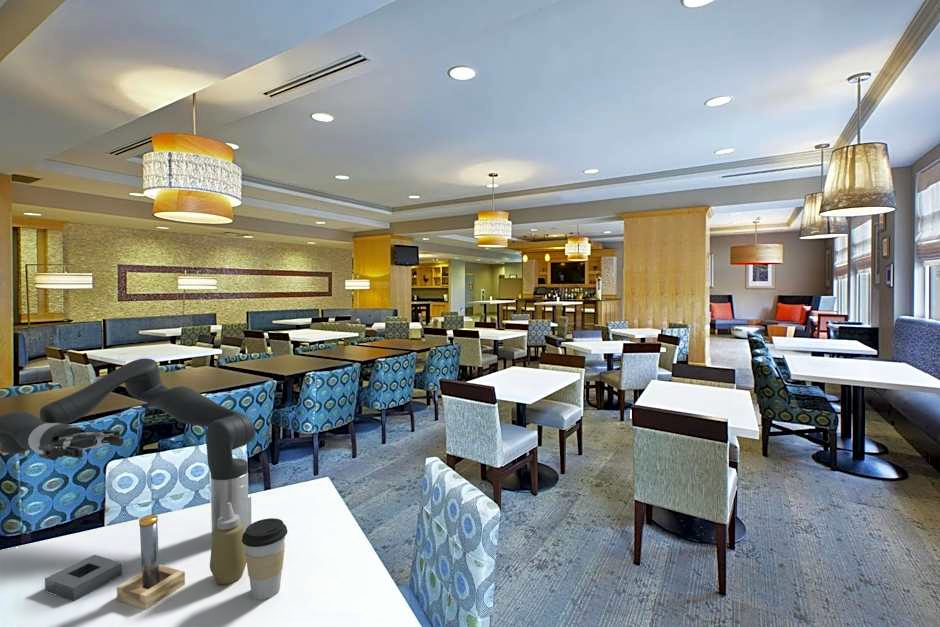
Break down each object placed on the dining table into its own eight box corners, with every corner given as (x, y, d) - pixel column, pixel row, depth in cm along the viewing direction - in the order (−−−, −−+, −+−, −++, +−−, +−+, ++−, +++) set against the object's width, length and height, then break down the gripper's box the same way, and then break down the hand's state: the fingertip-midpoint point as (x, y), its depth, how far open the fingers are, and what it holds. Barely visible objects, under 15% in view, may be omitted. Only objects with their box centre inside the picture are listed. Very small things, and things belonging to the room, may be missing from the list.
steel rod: (153, 581, 104) (150, 513, 103) (164, 584, 103) (161, 516, 102) (138, 590, 101) (135, 520, 100) (149, 594, 99) (145, 523, 99)
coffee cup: (271, 608, 97) (270, 540, 96) (232, 602, 98) (231, 535, 98) (296, 580, 106) (295, 518, 105) (261, 575, 108) (260, 514, 107)
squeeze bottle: (255, 571, 110) (254, 498, 109) (228, 591, 102) (227, 513, 101) (230, 564, 112) (229, 493, 112) (201, 583, 105) (200, 508, 104)
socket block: (94, 566, 111) (94, 554, 111) (122, 574, 108) (121, 562, 108) (45, 591, 102) (44, 578, 102) (73, 601, 98) (73, 588, 98)
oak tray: (157, 576, 107) (157, 563, 107) (184, 584, 104) (184, 571, 104) (117, 600, 99) (116, 586, 99) (145, 609, 96) (145, 596, 96)
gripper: (90, 445, 116) (133, 453, 111) (20, 464, 103) (66, 474, 98) (89, 416, 116) (133, 423, 111) (19, 432, 103) (64, 440, 97)
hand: (101, 447), depth 104 cm, fingers open, 8 cm apart
